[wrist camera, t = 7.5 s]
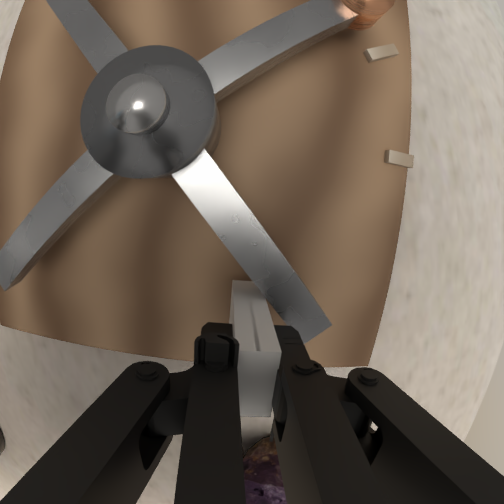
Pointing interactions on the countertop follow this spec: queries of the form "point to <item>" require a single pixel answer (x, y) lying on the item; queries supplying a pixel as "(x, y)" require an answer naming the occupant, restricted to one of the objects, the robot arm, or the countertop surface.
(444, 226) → the countertop surface
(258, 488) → the rock
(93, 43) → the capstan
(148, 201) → the board
